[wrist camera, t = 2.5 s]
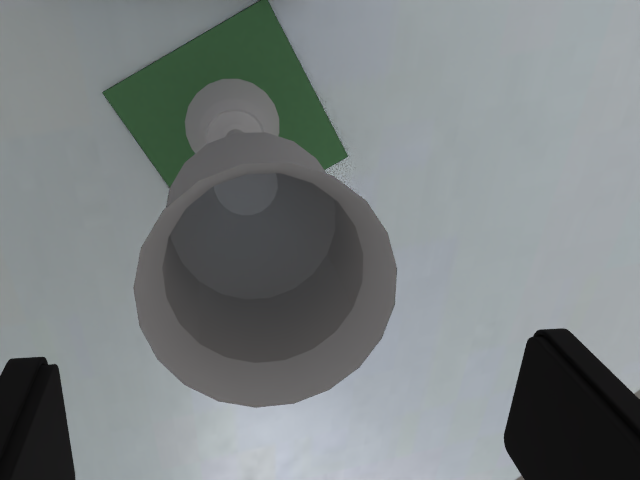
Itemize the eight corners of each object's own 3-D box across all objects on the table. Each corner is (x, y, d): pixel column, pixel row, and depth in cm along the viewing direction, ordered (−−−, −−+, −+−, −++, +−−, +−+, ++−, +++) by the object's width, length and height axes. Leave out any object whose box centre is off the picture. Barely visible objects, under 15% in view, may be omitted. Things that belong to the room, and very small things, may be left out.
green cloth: (204, 236, 33) (204, 237, 33) (102, 92, 29) (102, 92, 29) (347, 155, 33) (348, 156, 33) (265, -3, 29) (266, -3, 28)
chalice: (151, 68, 29) (94, 193, 13) (283, 45, 30) (384, 135, 14) (186, 201, 32) (175, 432, 16) (304, 178, 33) (406, 375, 17)
